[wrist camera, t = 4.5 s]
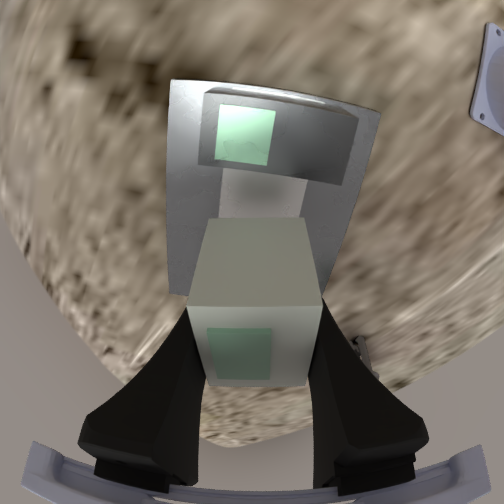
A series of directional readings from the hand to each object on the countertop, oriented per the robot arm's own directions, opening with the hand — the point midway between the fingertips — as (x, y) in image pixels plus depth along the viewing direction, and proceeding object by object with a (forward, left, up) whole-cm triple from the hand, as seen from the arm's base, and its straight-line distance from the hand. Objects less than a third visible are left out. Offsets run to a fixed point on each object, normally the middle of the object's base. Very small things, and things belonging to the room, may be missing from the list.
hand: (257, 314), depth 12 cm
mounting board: (0, 0, -9) cm, 9 cm away
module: (0, -1, -2) cm, 3 cm away
